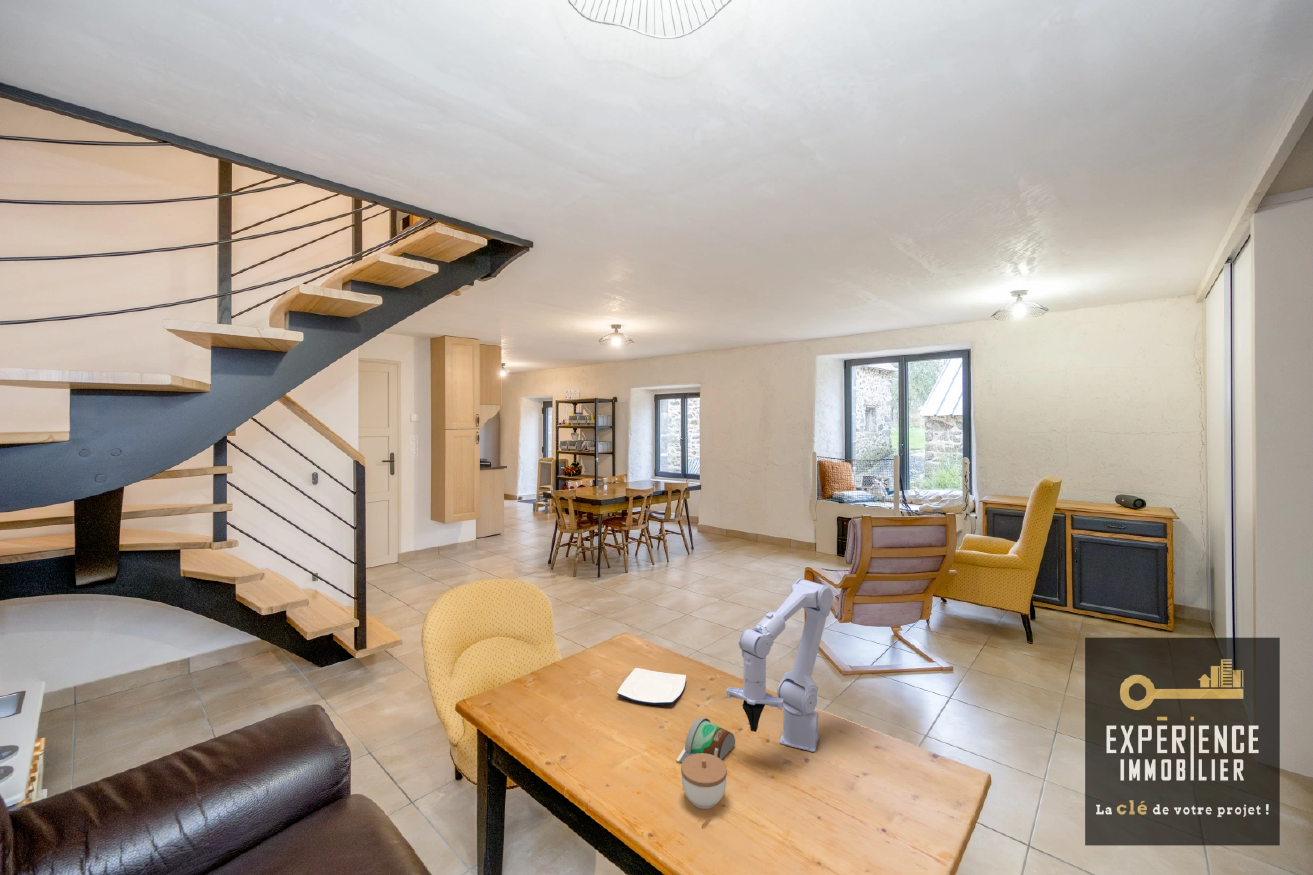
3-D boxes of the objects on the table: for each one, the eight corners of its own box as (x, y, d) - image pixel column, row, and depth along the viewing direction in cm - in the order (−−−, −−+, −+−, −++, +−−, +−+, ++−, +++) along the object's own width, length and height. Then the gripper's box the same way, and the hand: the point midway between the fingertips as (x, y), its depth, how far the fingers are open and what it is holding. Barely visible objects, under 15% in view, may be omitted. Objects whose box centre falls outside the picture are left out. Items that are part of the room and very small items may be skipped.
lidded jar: (697, 777, 129) (698, 740, 129) (735, 797, 122) (735, 758, 122) (671, 801, 121) (671, 761, 121) (710, 824, 114) (710, 782, 114)
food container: (717, 741, 133) (684, 728, 139) (716, 765, 133) (683, 750, 139) (737, 719, 144) (706, 708, 149) (737, 741, 144) (705, 729, 149)
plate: (612, 702, 165) (612, 693, 165) (634, 673, 185) (634, 665, 185) (674, 712, 159) (674, 704, 159) (689, 681, 179) (689, 674, 179)
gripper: (723, 678, 134) (722, 730, 134) (779, 690, 128) (779, 744, 128) (730, 667, 140) (730, 716, 141) (785, 678, 134) (784, 729, 135)
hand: (754, 729), depth 135 cm, fingers closed
